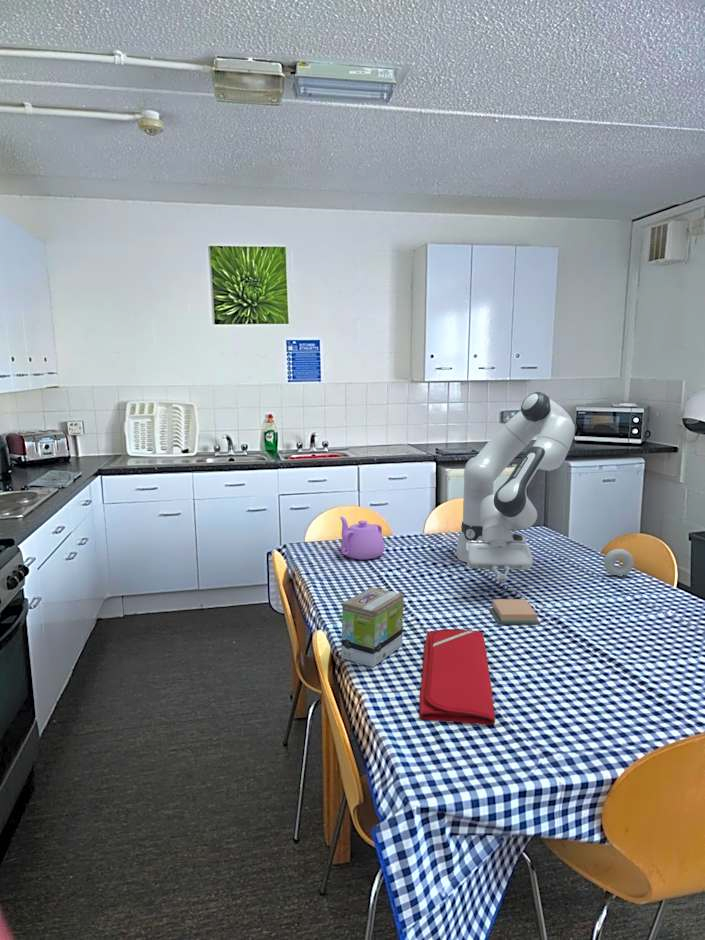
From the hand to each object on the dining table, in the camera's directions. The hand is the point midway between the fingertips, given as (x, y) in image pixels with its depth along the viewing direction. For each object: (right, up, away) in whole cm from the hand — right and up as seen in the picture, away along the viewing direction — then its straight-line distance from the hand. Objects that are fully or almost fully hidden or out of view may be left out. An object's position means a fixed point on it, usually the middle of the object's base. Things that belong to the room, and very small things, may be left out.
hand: (502, 580), depth 194 cm
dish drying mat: (-22, -15, -45) cm, 52 cm away
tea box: (-41, -13, -33) cm, 54 cm away
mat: (+1, -9, -10) cm, 13 cm away
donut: (+47, -3, +26) cm, 54 cm away
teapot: (-44, +1, +53) cm, 69 cm away
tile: (+1, -6, -4) cm, 7 cm away
